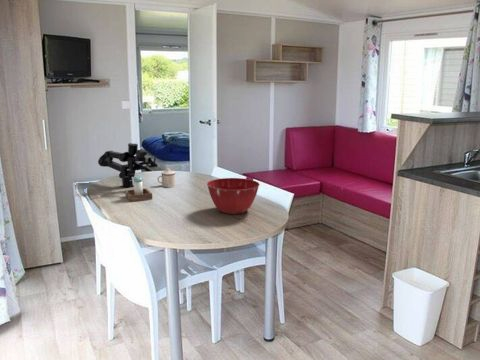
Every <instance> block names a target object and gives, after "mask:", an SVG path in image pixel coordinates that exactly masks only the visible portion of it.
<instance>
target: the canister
mask: <svg viewBox="0 0 480 360" xmlns="http://www.w3.org/2000/svg"><path fill="white" fill-rule="evenodd" d="M133 185H134V186H133V190H134V194H135V195H139V194H143V189H144V188H143V177H141V176H140V177H139V176H137V177H135V176H134V177H133Z"/></svg>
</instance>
